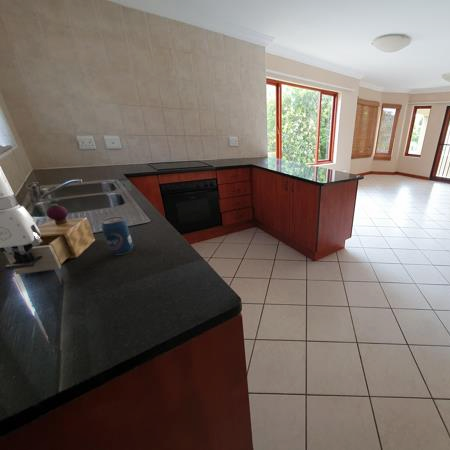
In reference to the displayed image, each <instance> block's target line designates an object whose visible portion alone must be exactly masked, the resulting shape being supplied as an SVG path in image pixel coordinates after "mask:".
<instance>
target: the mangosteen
mask: <svg viewBox="0 0 450 450" xmlns="http://www.w3.org/2000/svg"><path fill="white" fill-rule="evenodd" d="M46 215H47V217H48V218H49V219H50V220H55V223H56V224H64V223H67V219H68V218H67V217H68V215H69V211H68V209H67V208H66V207H64V206H62V205H58V203H53V204H52V203H51V204H50V207H48V208H47V209H46Z"/></svg>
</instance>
